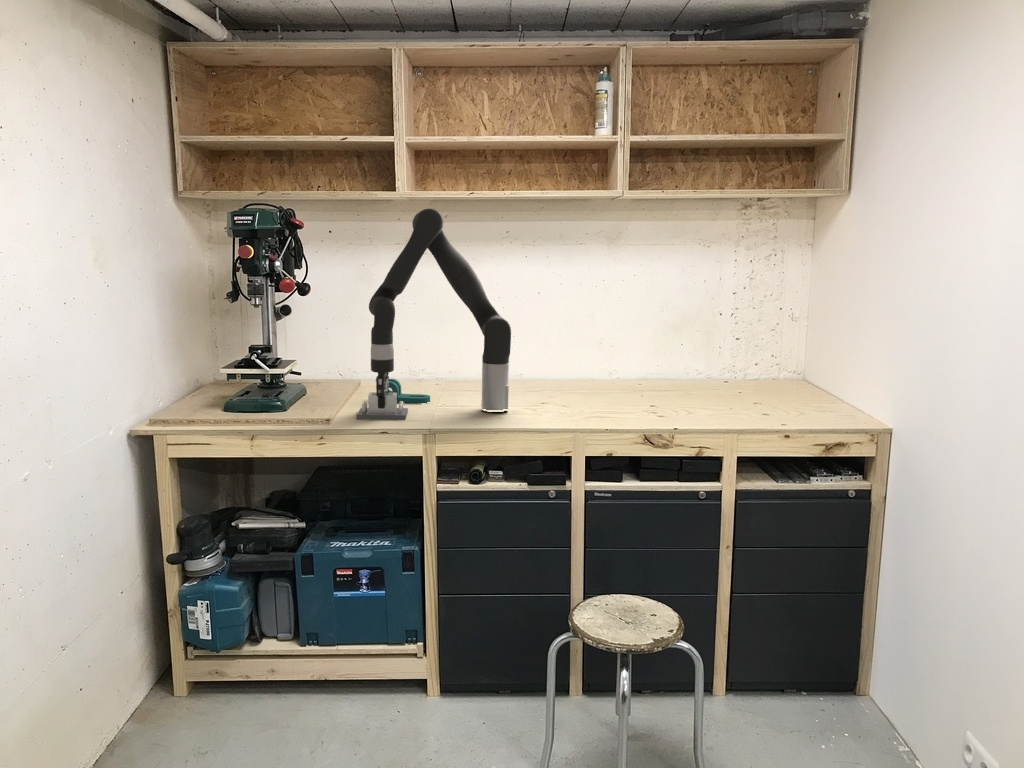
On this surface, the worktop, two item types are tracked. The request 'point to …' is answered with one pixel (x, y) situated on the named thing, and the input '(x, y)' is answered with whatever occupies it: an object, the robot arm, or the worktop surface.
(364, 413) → the grey wall plate
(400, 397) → the bracket
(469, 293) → the robot arm
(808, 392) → the worktop surface
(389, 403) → the block
